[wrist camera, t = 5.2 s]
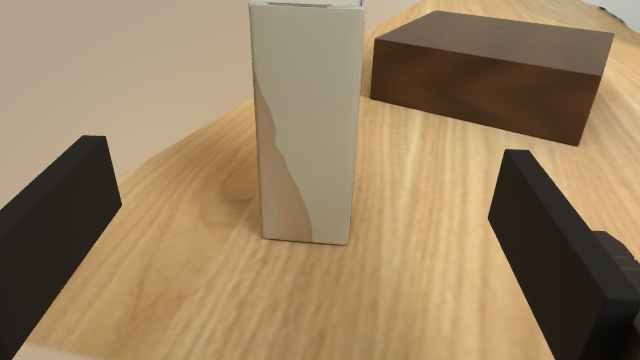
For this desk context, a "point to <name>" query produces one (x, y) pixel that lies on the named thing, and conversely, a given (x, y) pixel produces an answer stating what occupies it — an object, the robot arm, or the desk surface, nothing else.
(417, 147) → the desk surface
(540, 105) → the block
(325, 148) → the box
